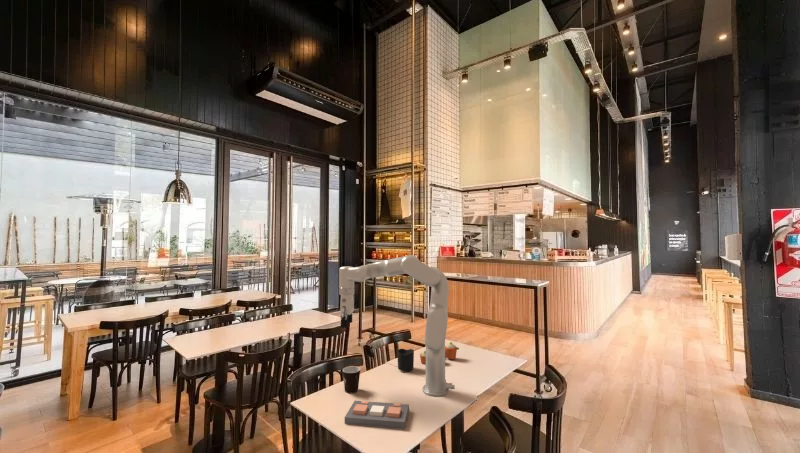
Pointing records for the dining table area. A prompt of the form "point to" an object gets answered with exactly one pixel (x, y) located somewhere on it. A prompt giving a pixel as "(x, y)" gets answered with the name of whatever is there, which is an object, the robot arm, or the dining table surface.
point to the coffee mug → (351, 378)
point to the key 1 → (360, 409)
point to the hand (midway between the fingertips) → (346, 324)
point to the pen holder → (405, 359)
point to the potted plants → (449, 352)
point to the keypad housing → (378, 420)
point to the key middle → (377, 411)
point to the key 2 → (394, 412)
